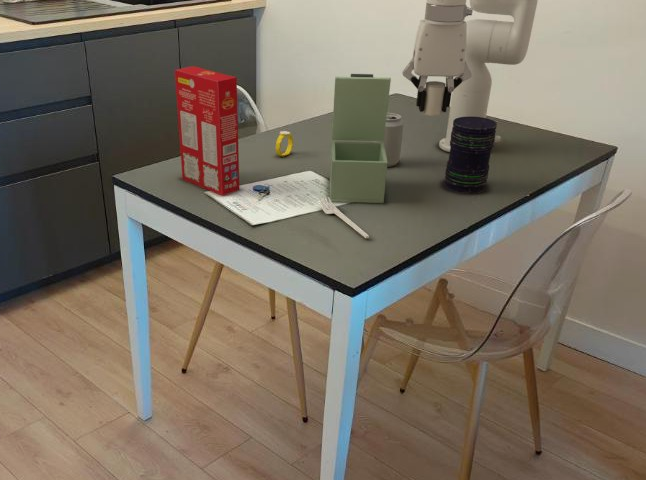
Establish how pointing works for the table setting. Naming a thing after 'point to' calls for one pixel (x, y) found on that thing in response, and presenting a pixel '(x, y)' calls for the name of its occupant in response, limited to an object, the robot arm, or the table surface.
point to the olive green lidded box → (358, 172)
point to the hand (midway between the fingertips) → (432, 109)
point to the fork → (340, 215)
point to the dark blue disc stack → (469, 154)
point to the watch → (279, 140)
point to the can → (393, 138)
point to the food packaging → (208, 129)
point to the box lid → (360, 107)
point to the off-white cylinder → (434, 98)
